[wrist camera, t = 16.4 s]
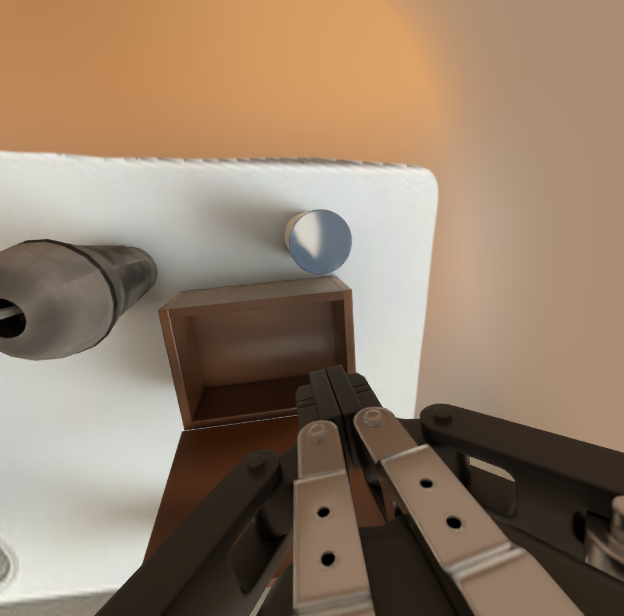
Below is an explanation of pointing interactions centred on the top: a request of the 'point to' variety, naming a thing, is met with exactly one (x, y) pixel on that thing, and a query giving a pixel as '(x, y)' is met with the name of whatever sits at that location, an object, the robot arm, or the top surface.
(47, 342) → the beverage cup
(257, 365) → the chest
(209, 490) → the lid
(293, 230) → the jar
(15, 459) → the top surface
